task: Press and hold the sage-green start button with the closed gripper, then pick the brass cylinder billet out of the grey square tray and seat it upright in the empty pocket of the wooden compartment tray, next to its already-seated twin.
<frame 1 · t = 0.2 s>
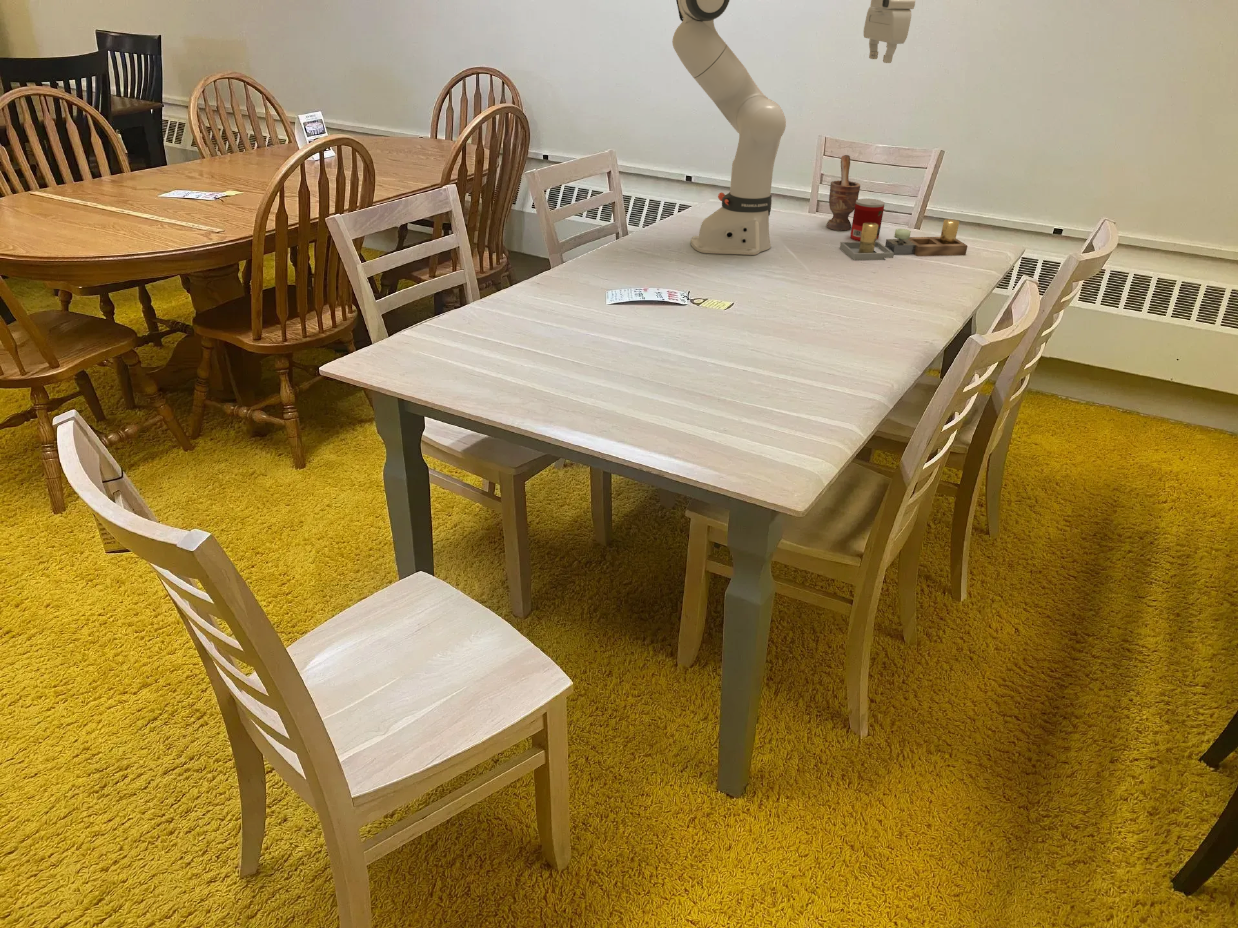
hand: (879, 61, 214), 47 cm above the table, fingers open, 8 cm apart
wooden compartment tray: (933, 254, 231), on the table
button housing: (898, 254, 230), on the table
billet seated: (945, 250, 230), point 1 cm above the table, touching wooden compartment tray
billet: (865, 253, 228), resting on grey square tray
grey square tray: (865, 255, 229), on the table
mortar and pestle: (836, 227, 254), on the table
start button: (901, 239, 227), point 4 cm above the table, slide at 0.0 cm
canned food: (863, 241, 242), on the table
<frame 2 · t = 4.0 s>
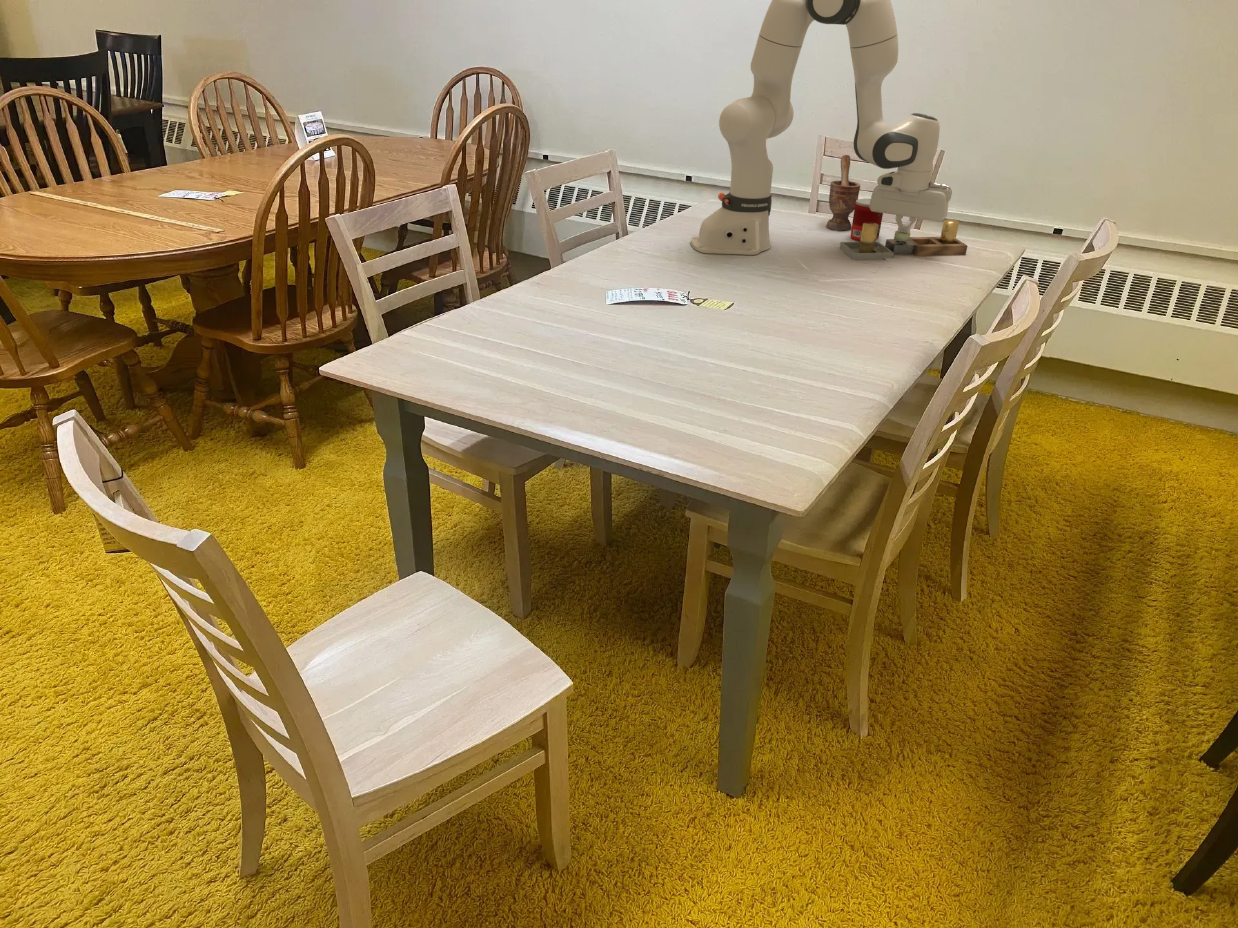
hand: (903, 232, 226), 6 cm above the table, fingers closed, pressing on start button
start button: (901, 241, 228), point 4 cm above the table, slide at 0.5 cm, touching gripper
everything else where it was.
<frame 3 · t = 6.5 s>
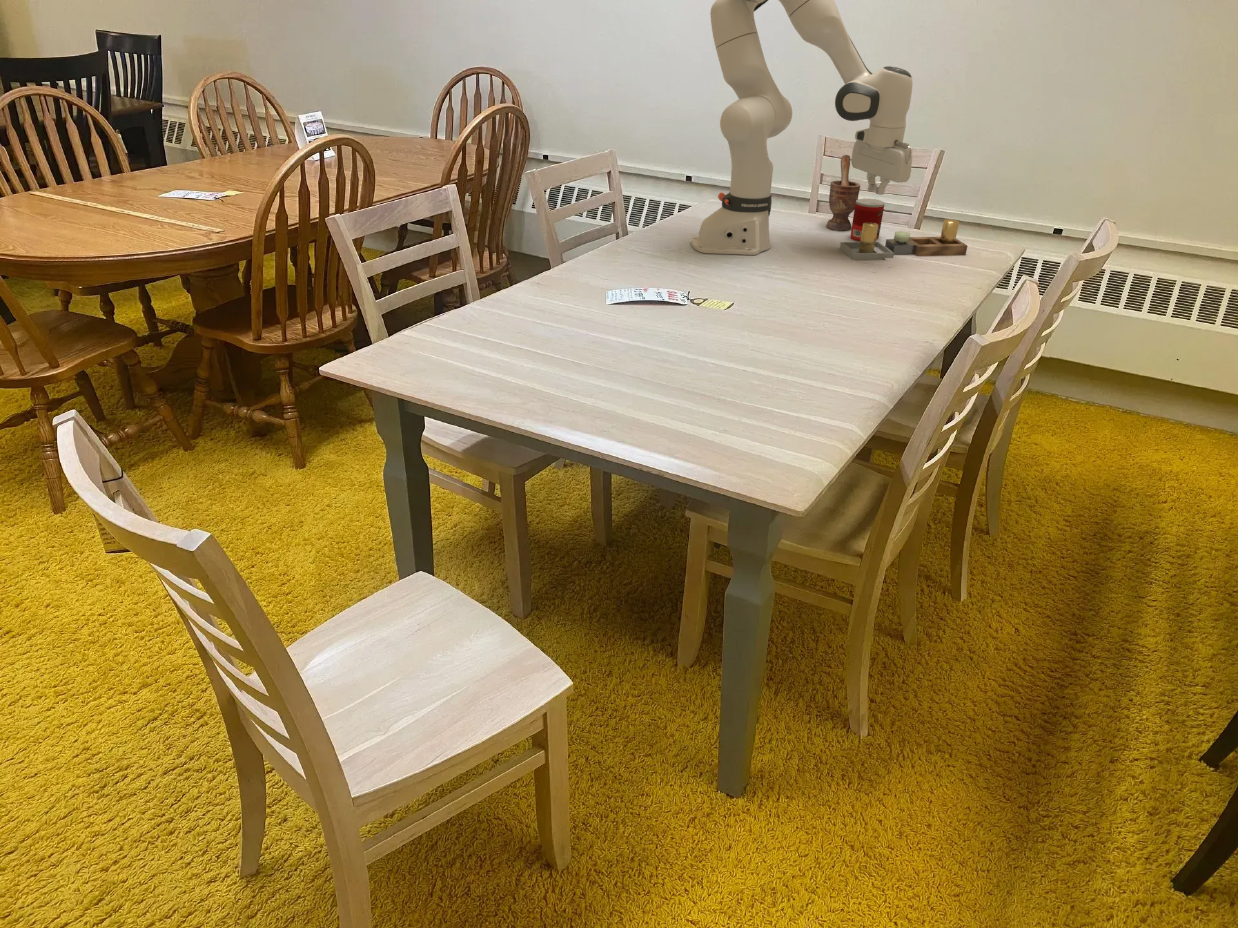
hand: (875, 192, 220), 17 cm above the table, fingers closed
start button: (901, 242, 228), point 4 cm above the table, slide at 0.7 cm
everything else where it was.
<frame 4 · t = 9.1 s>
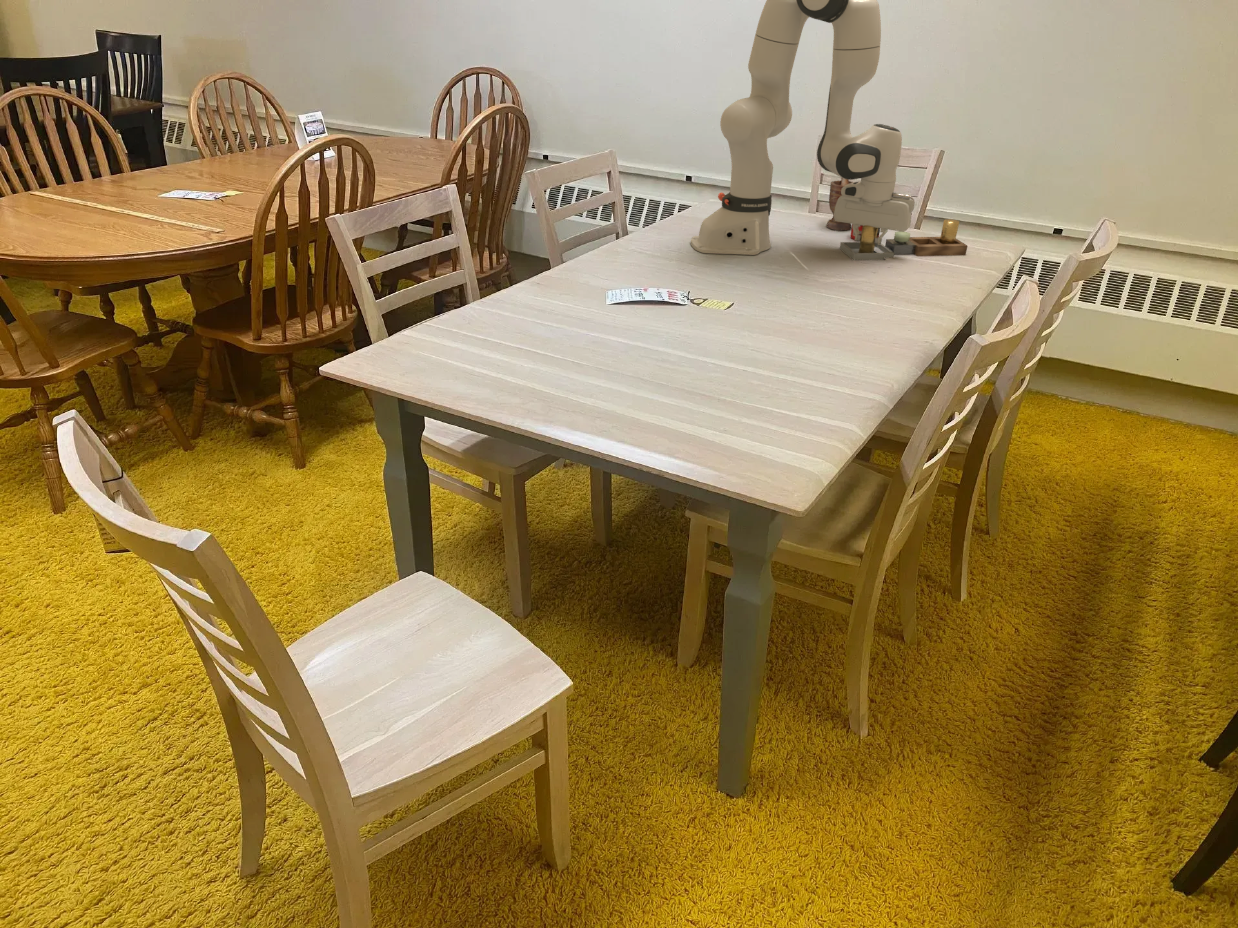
hand: (867, 242, 227), 4 cm above the table, fingers closed on billet, 4 cm apart
billet: (865, 253, 228), resting on grey square tray, touching gripper
everything else where it was.
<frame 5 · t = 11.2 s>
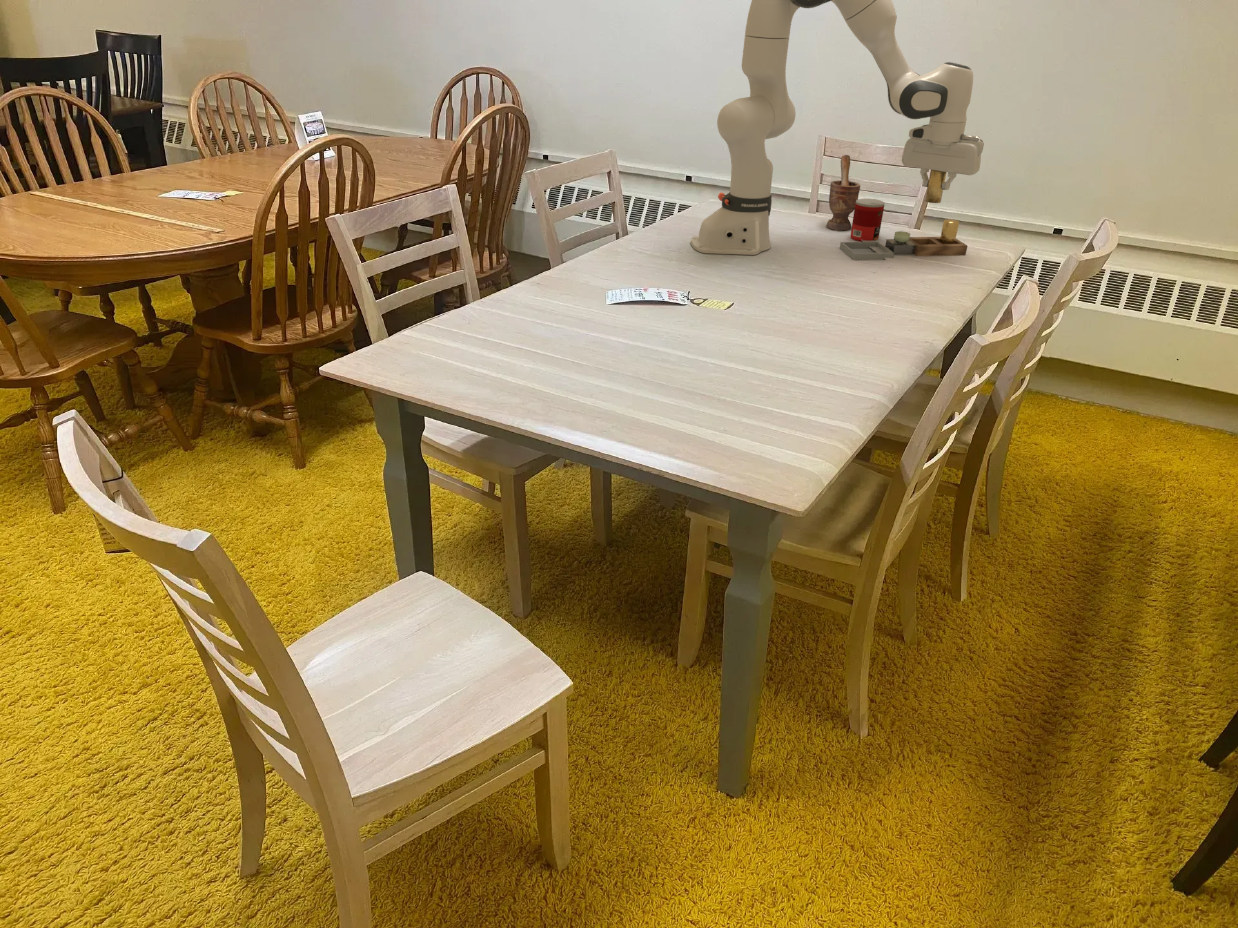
hand: (935, 188, 221), 18 cm above the table, fingers closed on billet, 4 cm apart
billet: (932, 201, 222), point 14 cm above the table, touching gripper
everything else where it was.
when the fingers open (5 cm above the table, at t = 13.5 s): billet stays where it is, resting on wooden compartment tray.
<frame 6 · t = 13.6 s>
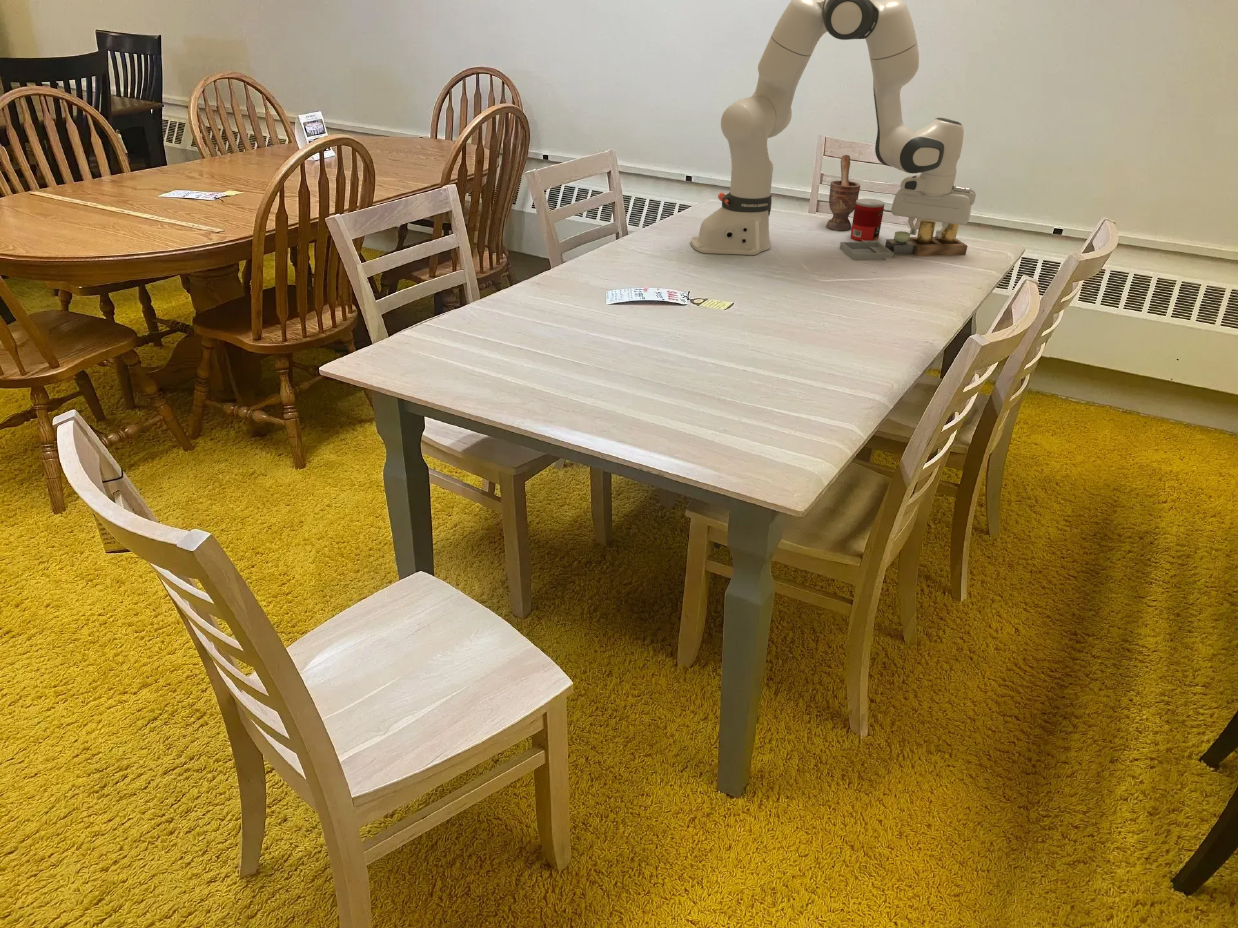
hand: (925, 236, 228), 5 cm above the table, fingers open, 5 cm apart
billet: (922, 250, 230), point 1 cm above the table, touching wooden compartment tray
everything else where it was.
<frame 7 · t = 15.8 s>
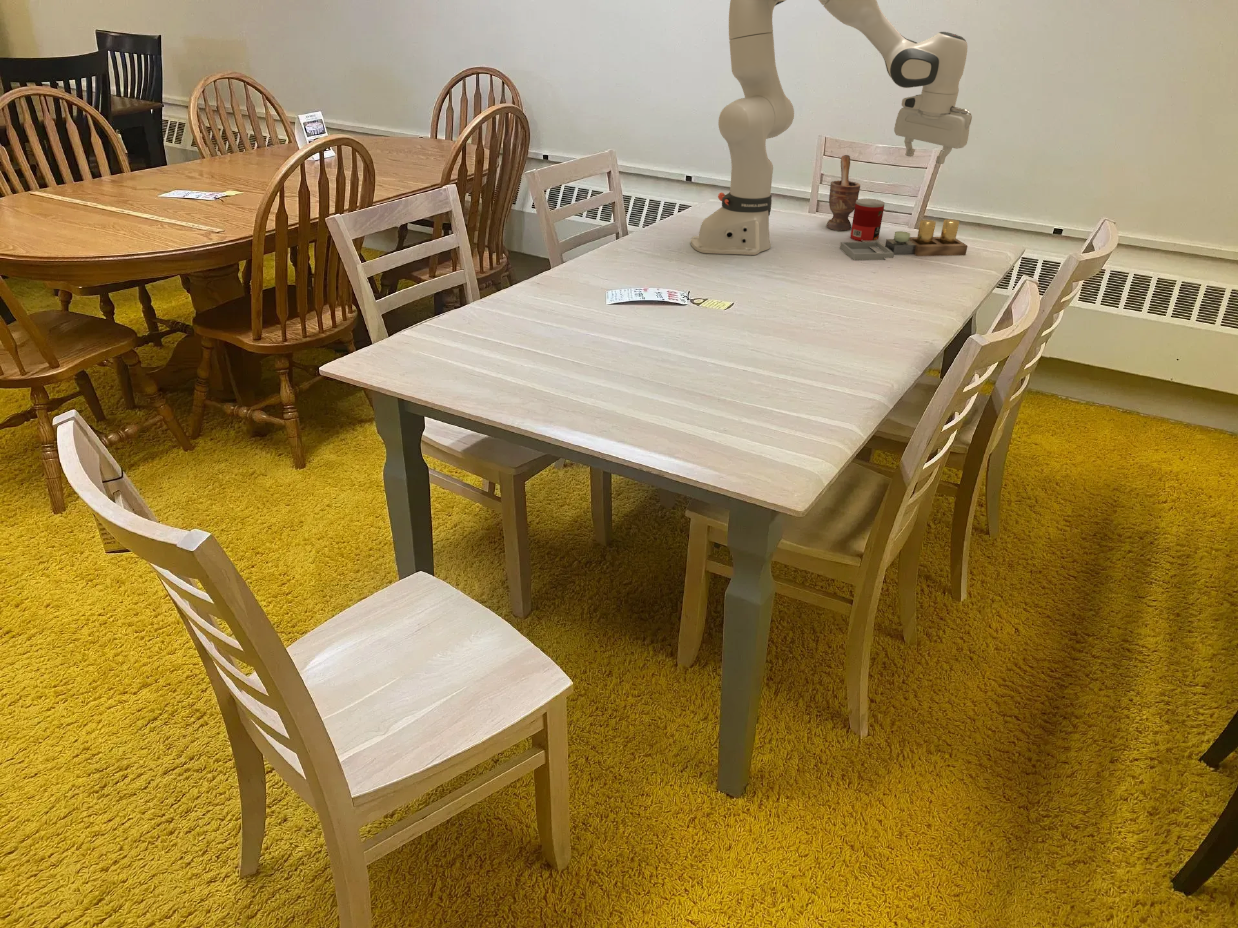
hand: (924, 159, 221), 24 cm above the table, fingers open, 8 cm apart
nothing on the table moved.
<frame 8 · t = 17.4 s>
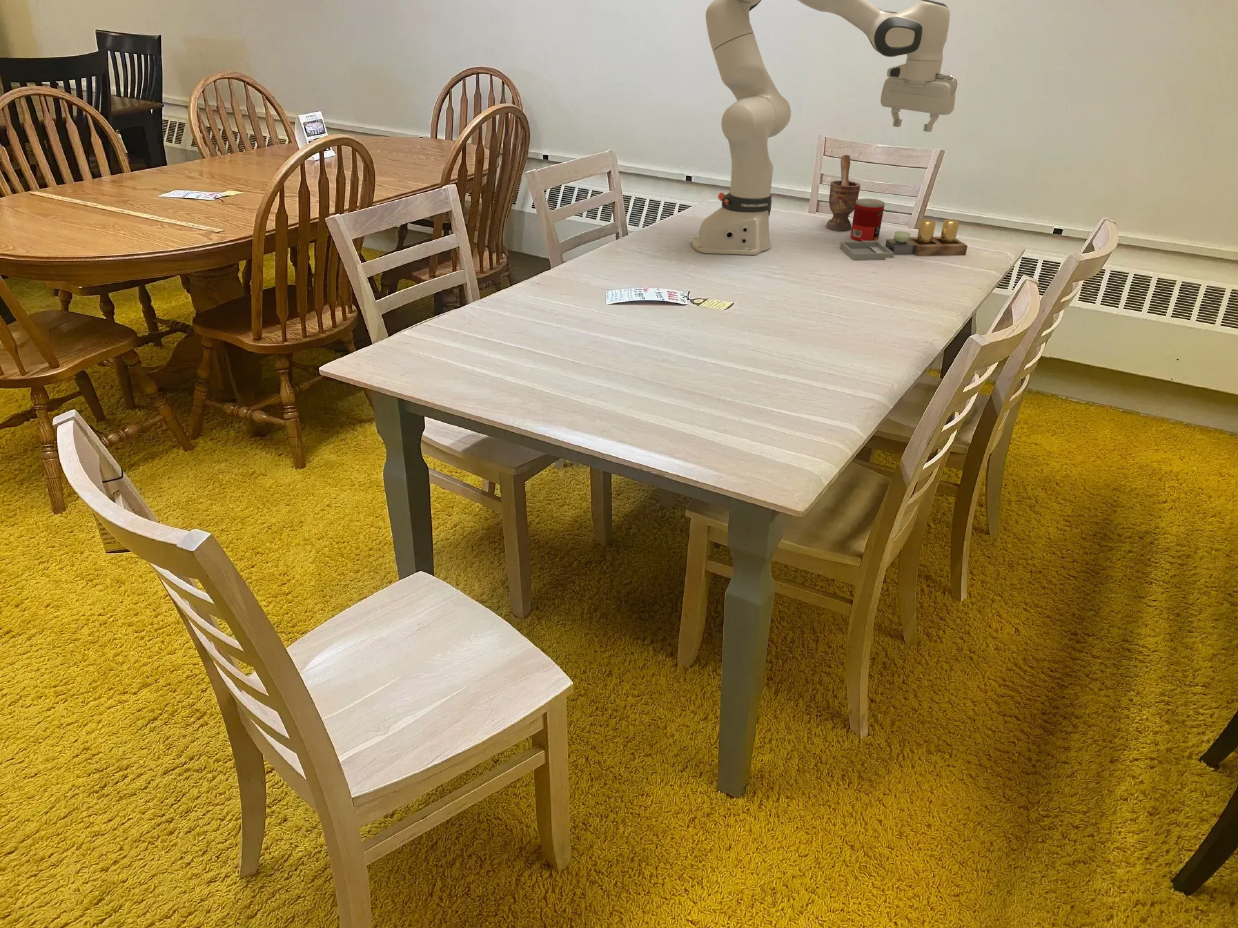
hand: (911, 129, 222), 31 cm above the table, fingers open, 8 cm apart
nothing on the table moved.
at the end: billet 0.1 cm from the target spot on the wooden compartment tray, point 1.0 cm above the wooden compartment tray's base; billet tilted 0°; the gripper is holding nothing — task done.
